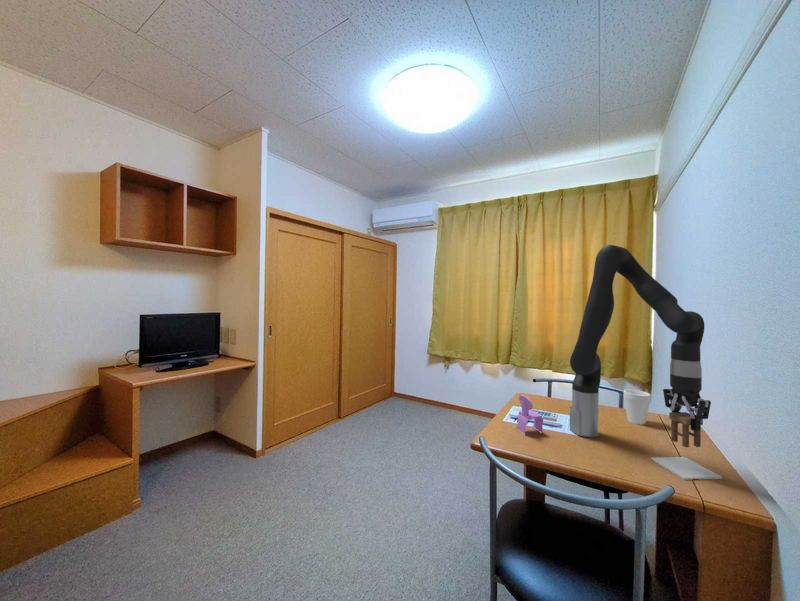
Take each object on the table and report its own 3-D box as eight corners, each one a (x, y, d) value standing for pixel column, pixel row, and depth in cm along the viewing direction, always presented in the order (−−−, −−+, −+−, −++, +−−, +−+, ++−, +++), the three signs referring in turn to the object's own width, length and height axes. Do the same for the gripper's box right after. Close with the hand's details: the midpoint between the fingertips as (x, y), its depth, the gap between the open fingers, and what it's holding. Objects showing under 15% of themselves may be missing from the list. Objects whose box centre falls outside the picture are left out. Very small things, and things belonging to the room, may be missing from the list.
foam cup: (655, 426, 135) (656, 395, 135) (635, 426, 134) (635, 396, 134) (637, 417, 144) (637, 389, 144) (618, 418, 144) (618, 389, 144)
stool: (702, 447, 98) (702, 418, 98) (685, 447, 98) (685, 419, 98) (685, 439, 104) (685, 412, 104) (669, 439, 104) (669, 412, 104)
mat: (684, 479, 95) (684, 477, 95) (650, 459, 107) (650, 457, 107) (722, 478, 95) (722, 476, 95) (684, 458, 107) (684, 456, 107)
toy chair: (545, 434, 126) (545, 397, 126) (526, 437, 124) (526, 398, 124) (532, 426, 134) (532, 391, 134) (513, 428, 132) (514, 392, 132)
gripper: (720, 379, 94) (720, 436, 94) (675, 368, 108) (675, 418, 108) (696, 379, 94) (696, 436, 94) (654, 369, 108) (655, 418, 108)
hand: (685, 426), depth 101 cm, fingers closed on stool, 5 cm apart
